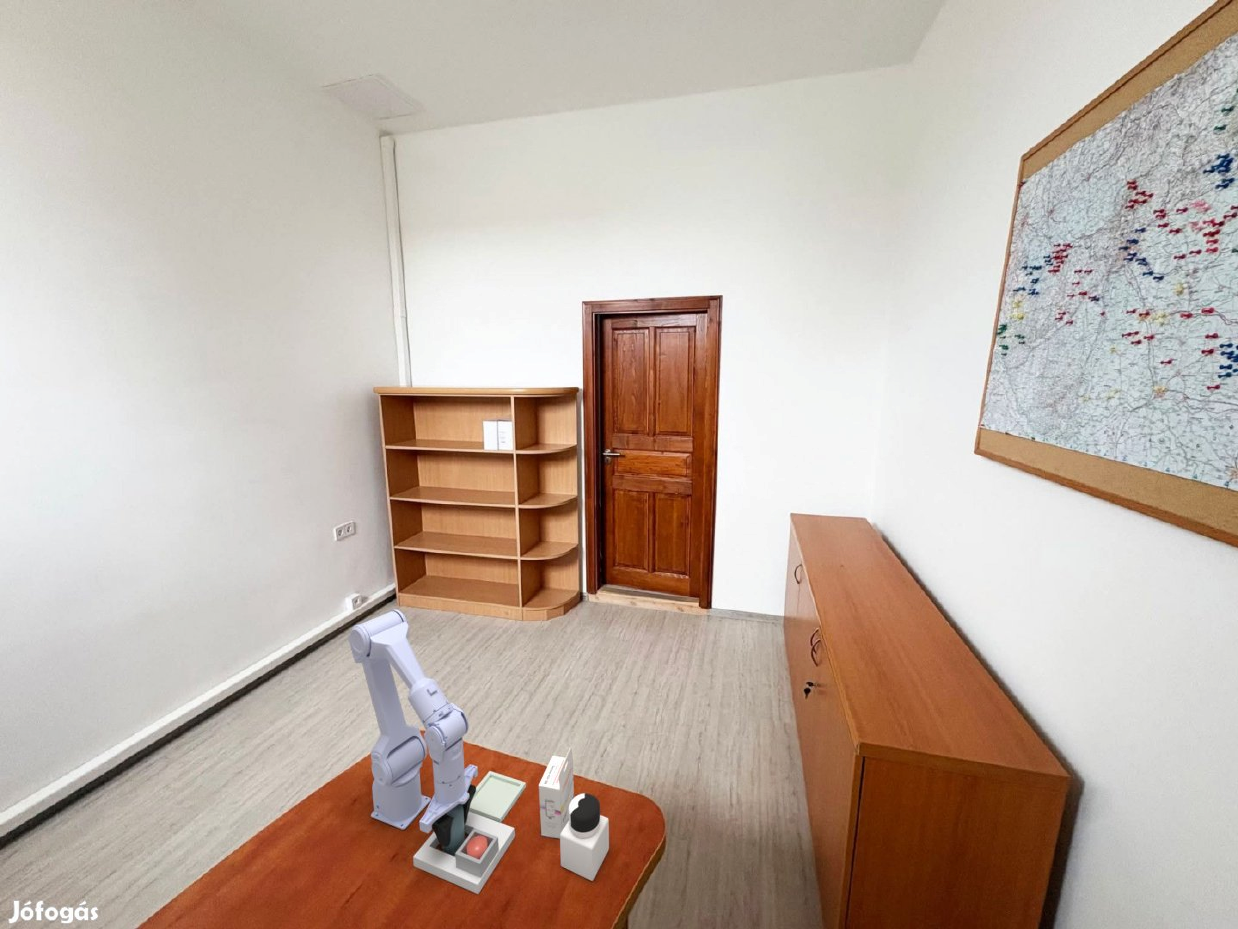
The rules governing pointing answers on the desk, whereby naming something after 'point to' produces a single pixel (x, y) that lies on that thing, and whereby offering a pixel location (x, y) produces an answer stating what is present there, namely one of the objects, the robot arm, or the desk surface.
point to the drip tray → (496, 796)
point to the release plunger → (477, 847)
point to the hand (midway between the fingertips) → (453, 833)
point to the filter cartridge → (456, 830)
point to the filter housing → (463, 866)
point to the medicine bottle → (584, 837)
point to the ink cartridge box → (556, 795)
